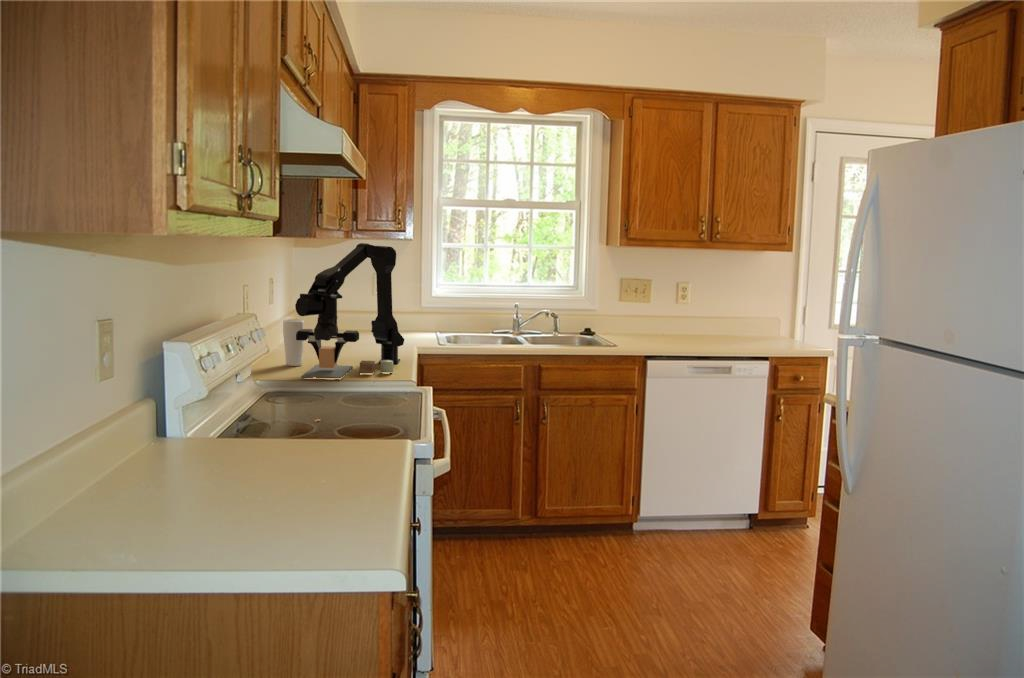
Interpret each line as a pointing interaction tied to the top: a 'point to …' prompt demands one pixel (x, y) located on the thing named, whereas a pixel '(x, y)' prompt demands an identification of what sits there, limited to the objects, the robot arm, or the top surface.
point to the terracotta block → (327, 357)
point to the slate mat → (327, 372)
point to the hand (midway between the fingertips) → (328, 362)
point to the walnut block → (366, 366)
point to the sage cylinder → (386, 366)
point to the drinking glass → (293, 341)
